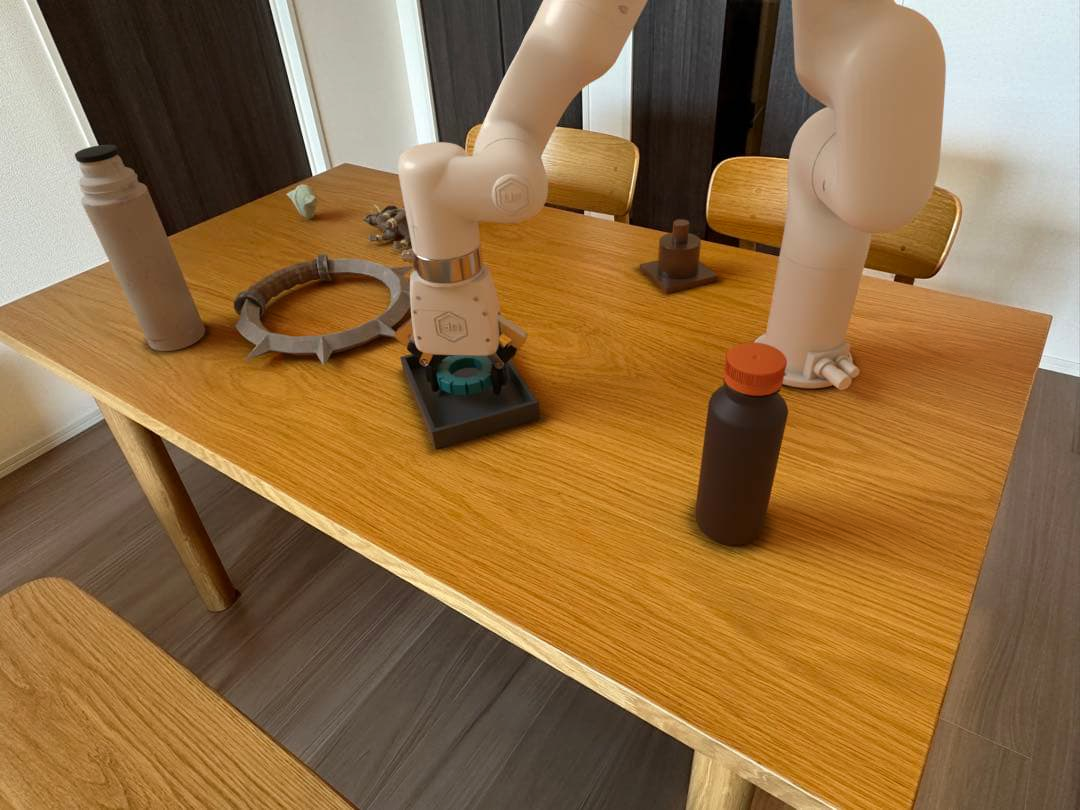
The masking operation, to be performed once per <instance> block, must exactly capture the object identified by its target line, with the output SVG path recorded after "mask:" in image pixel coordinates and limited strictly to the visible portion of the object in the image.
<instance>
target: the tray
mask: <svg viewBox="0 0 1080 810" xmlns="http://www.w3.org/2000/svg"><path fill="white" fill-rule="evenodd" d="M448 356H451V357H452V355H440V359H441V361H442V360H443V359H445V358H446V357H448ZM399 358H400V363H401V367H402V372H403V375H404V377H405V380H406V382H407V384H408V387H409V390H410V391H411V394H412V396H413V399H414V401H415V404H416V406H417V408H418V411H419V413H420V416H421V418H422V421H423V423H424V426H425V428H426V430H427V432H428V435H429V438H430V440H431V442H432V445H433V447H434V450H437V449H440V448H444V447H447V446H451V445H454V444H457V443H462V442H464V441H465V442H466V441H468V440H471V439H475V438H479V437H482V436H485V435H489V434H492V433H496V432H499V431H502V430H506V429H510V428H514V427H517V426H521V425H524V424H527V423H530V422H533V421H538V420H540V418H541V417H540V403H539V401H538V399H537V398H536V396H535V394H534V393H533V391H532V390H531V389H530V387H529V385H528V384H527V383H526V381H525V379H524V377H523V376H522V374H521V373H520V371H519V370H518V368H517V367H516V365H515V364H514V362H513V361H512V358H511V359H510V360H509V361H508V362H506V372H507V383H506V385H502V388H501V391H500V394H499V395H495V393H493V386H492V385H491V386H490V387H488V388H487V389H486V390H483V389H481V390H482V392H479V393H475V394H471V395H469V393H468V392H467V395H454V393H452V394H450V393H448V392H446V391H444V390H442V388H439V391H437V392H432V388H431V383H430V382H428V381H427V377H426V372H425V367H424V366H423V365H421V364H420V360H419V359H418V358H417V357H415V356H414V355H413V354H411V353H410V354H406V355H402V356H400V357H399ZM479 372H480V370H478V369H476V368H464V369H460V370H458V371H456V372H455V373H453V374H452V375H453V376H455V377H463V378H467V377H470V376H474V375H476V374H477V373H479Z"/></svg>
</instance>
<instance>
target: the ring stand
mask: <svg viewBox="0 0 1080 810" xmlns="http://www.w3.org/2000/svg"><path fill="white" fill-rule="evenodd" d="M689 231H690V221H689V220H687V219H681V218H680V219H679V218H678V219H675V220H674V221H673V223H672V232H669V233H666V234H663V235H662V236H661V237H660V238H659V239H658V255H657V259H656V260H652V261H648V262H644V263H640V264H639V271H640V273H643V274H644V276H646V277H647V278H648V279H649V280H650V281H651V282H652V283H653V284H655V285H656V286H657V287H658V288H660V290H661V291H663V292H664V293H665V294H666V295H668V294H671V293H675V292H679V291H684V290H687V289H688V290H689V289H692V288H696V287H699V286H703V285H706V284H711V283H715V282H717V281H718V275H717V274H716V273H715V272H714V271H713V270H711V269H710V268H709V267H707V266H706V265H705V264H703V263H702V262H700V256H701V255H700V254H701V245H702V240H701V238H700V237H699V236H698V235H696V234H694V233H689Z"/></svg>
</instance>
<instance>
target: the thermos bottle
mask: <svg viewBox="0 0 1080 810" xmlns="http://www.w3.org/2000/svg"><path fill="white" fill-rule="evenodd" d="M119 153H120V151H119V149H118V147H117V146H116V145H115V144H99V145H94V146H93V145H92V146H89V147H85V148H83V149H80V150H78V151H76V152H75V154H74V157H75V160H76V161H77V163H78V164H79V165H78V166H79V169H80V171H81V174H82V176H81V177H80V179H79V180H78V184H79V186H80V191H81V192H82V193H83V196H82V197H81V198H80V203H81V205H82V208H83V209H84V211H85V213H86V216H87V218H88V219H89V222H90V224H91V225H92V228H93V229H94V231H95V234H96V236H97V239H98V240H99V242H100V245H101V246H102V249H103V251H104V253H105V256H106V257H107V259H108V261H109V263H110V266H111V267H112V269H113V272H114V274H115V276H116V278H117V280H118V282H119V285H120V286H121V289H122V291H123V293H124V295H125V297H126V299H127V301H128V303H129V305H130V307H131V309H132V310H131V311H132V312H133V314H134V316H135V318H136V320H137V322H138V325H139V327H140V328H141V330H142V333H143V335H144V337H145V340H146V342H147V343H148V346H149V347H150V349H152V350H155V351H159V352H173V351H179V350H181V349H185V348H188V347H189V346H191V345H194V344H195V343H197V342H198V341H200V340H201V339H202V338H203V337H204V335H205V333H206V327H205V325H204V323H203V321H202V318H201V315H200V313H199V310H198V308H197V305H196V303H195V301H194V298H193V295H192V293H191V290H190V289H189V286H188V284H187V281H186V279H185V277H184V273H183V271H182V269H181V267H180V263H179V262H178V260H177V257H176V255H175V252H174V250H173V247H172V245H171V242H170V240H169V237H168V235H167V233H166V230H165V227H164V226H163V223H162V221H161V218H160V216H159V213H158V211H157V208H156V206H155V204H154V203H155V202H154V201H153V198H152V196H151V194H150V191H149V189H148V186H147V185H145V184H144V183H141V182H140V181H139V180H138V174H137V173H135V170H134V169H132V167H131V168H130V167H127V166H125V164H124V163H123V160H122V158H121V156H119Z"/></svg>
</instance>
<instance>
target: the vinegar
mask: <svg viewBox="0 0 1080 810" xmlns="http://www.w3.org/2000/svg"><path fill="white" fill-rule="evenodd" d="M786 364H787V360H786V357H785V356H784V354H783V353H782V352H781V351H780V350H778V349H776V348H775V347H772V346H770V345H767V344H762V343H755V342H754V341H753V342H749V341H747V342H742V343H739V344H735V345H733V346H732V347H730V348H729V349H728V351H727V352H726V354H725V361H724V367H723V373H722V375H723V376H722V377H723V378H722V380H723V384H722V385H721V386H719V387H718V388H717V389H716V390H714V392H712V394H711V395H710V398H709V400H708V405H707V413H706V420H705V428H704V436H703V445H702V452H701V461H700V469H699V477H698V485H697V494H696V501H695V510H694V517H695V523H696V524H697V527H698V529H699V530H700V531H701V532H702V534H704V536H706V537H707V538H709V539H711V540H713V541H714V542H716V543H718V544H719V543H720V544H723V545H726V546H741V545H746V544H749V543H751V542H753V541H755V540H757V538H758V537H759V536H760V535H761V534H762V533H763V530H764V526H765V523H766V518H767V513H768V510H769V509H768V508H769V504H770V499H771V494H772V491H773V485H774V481H775V476H776V472H777V467H778V463H779V458H780V453H781V448H782V444H783V439H784V433H785V429H786V424H787V420H788V416H789V408H788V404H787V401H786V400H785V399H784V397H783V396H782V394H780V392H781V388H782V386H783V384H782V383H783V379H784V374H785V369H786Z"/></svg>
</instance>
